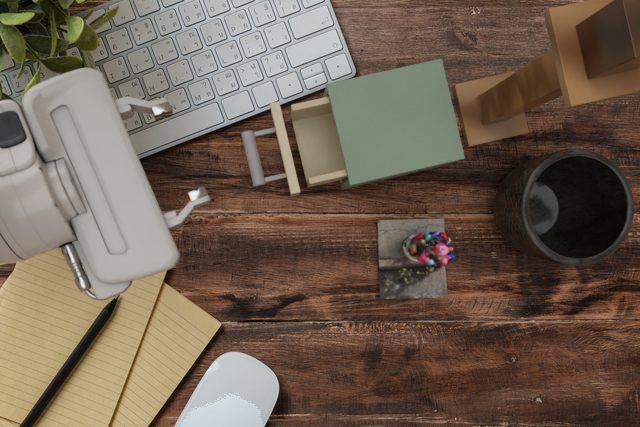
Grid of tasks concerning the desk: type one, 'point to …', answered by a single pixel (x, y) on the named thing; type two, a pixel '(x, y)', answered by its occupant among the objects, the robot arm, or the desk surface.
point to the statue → (413, 258)
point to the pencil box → (611, 39)
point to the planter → (565, 207)
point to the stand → (538, 82)
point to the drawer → (301, 146)
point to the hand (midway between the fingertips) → (189, 150)
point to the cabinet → (394, 123)
